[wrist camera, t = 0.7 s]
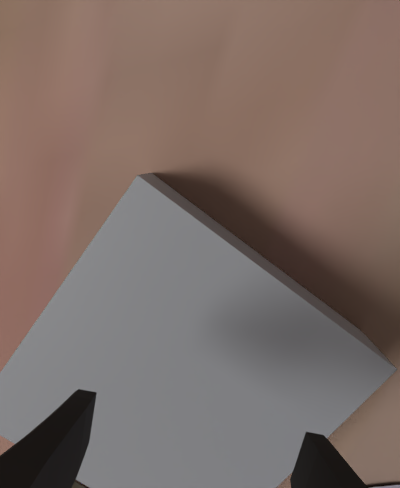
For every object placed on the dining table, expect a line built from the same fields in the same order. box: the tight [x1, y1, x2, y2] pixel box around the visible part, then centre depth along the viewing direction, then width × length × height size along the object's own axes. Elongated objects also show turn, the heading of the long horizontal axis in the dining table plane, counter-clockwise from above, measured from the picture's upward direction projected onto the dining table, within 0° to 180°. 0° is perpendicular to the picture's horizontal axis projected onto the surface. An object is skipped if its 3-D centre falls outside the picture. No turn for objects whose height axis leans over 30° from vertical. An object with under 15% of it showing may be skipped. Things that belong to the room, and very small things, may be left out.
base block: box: [0, 173, 397, 488], centre depth 19 cm, size 16×16×4 cm
